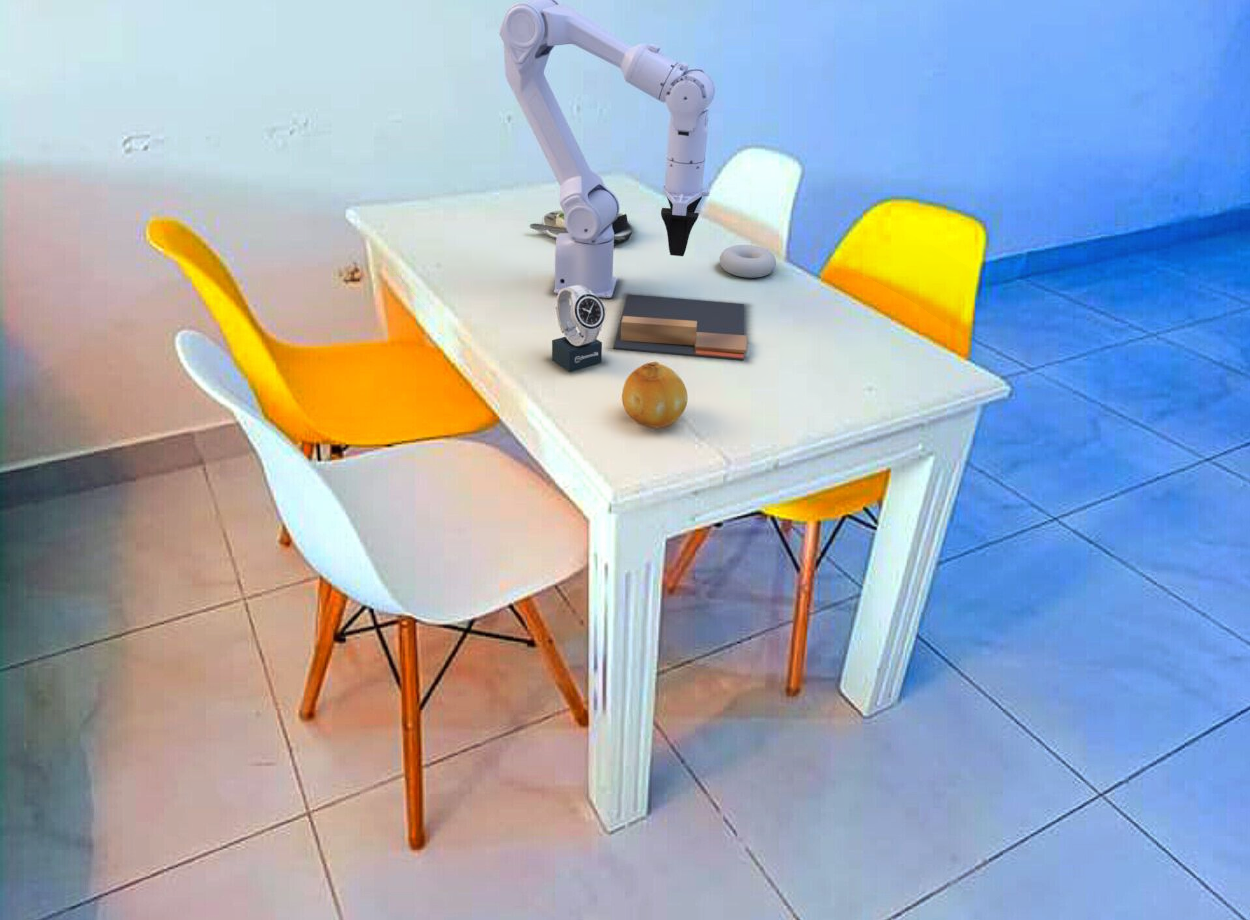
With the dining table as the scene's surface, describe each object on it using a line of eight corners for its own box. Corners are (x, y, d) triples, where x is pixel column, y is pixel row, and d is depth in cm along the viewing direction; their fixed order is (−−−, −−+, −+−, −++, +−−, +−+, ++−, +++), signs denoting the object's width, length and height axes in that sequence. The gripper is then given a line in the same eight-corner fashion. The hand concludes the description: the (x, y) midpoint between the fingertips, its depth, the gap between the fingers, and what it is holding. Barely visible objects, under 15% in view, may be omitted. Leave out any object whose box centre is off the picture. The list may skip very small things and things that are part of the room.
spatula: (746, 339, 137) (748, 320, 135) (746, 353, 133) (748, 334, 131) (623, 330, 138) (624, 311, 137) (619, 344, 134) (620, 325, 132)
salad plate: (533, 250, 166) (532, 225, 163) (526, 218, 180) (525, 194, 178) (638, 248, 169) (639, 224, 166) (622, 217, 184) (623, 194, 181)
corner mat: (613, 348, 134) (613, 345, 133) (627, 295, 150) (628, 292, 150) (743, 360, 132) (743, 357, 132) (743, 305, 149) (744, 302, 149)
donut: (715, 277, 159) (773, 283, 157) (717, 258, 157) (775, 264, 155) (721, 258, 167) (776, 263, 166) (723, 239, 165) (779, 244, 164)
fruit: (601, 408, 114) (636, 363, 110) (624, 385, 121) (658, 342, 116) (651, 450, 114) (688, 407, 110) (671, 425, 121) (707, 384, 117)
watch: (577, 377, 126) (578, 303, 120) (545, 355, 131) (545, 282, 125) (610, 367, 128) (612, 294, 122) (577, 346, 134) (578, 275, 128)
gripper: (710, 174, 130) (701, 265, 137) (714, 148, 142) (706, 233, 150) (661, 170, 131) (655, 261, 138) (669, 144, 143) (663, 229, 150)
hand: (678, 246), depth 144 cm, fingers open, 7 cm apart
